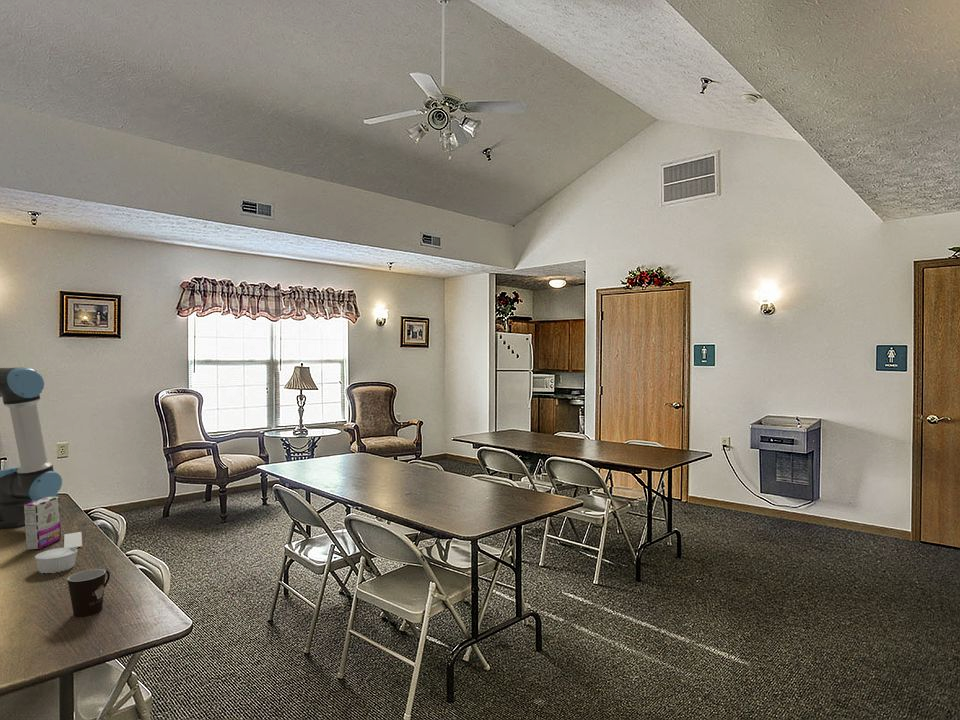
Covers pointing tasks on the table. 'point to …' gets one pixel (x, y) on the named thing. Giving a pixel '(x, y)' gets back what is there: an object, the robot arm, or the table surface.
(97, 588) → the coffee mug
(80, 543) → the mat
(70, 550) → the ramekin
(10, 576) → the table surface
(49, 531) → the candy bar box
